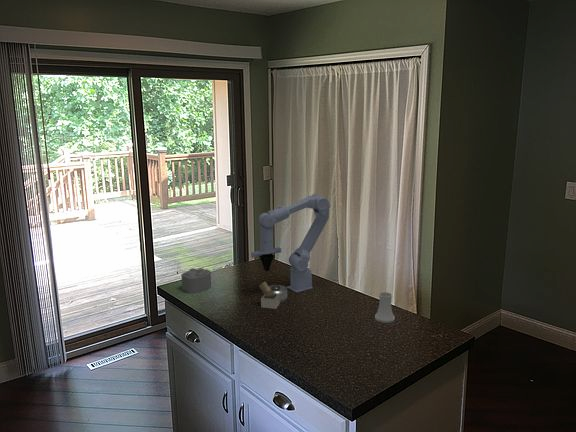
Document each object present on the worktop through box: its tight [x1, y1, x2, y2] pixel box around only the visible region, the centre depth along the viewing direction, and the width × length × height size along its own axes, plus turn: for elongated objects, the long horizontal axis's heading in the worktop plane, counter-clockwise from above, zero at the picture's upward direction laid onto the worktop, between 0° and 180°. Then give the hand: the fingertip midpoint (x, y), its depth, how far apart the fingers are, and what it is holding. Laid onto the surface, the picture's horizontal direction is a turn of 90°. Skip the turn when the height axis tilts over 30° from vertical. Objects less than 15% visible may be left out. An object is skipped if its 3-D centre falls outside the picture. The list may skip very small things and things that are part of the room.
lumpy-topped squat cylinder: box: [181, 267, 212, 295], centre depth 217 cm, size 10×13×9 cm
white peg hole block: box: [260, 284, 288, 310], centre depth 201 cm, size 16×10×5 cm, turn 166°
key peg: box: [258, 281, 275, 298], centre depth 196 cm, size 3×3×8 cm
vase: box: [374, 292, 396, 324], centre depth 182 cm, size 8×8×10 cm
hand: (266, 270), depth 209 cm, fingers closed
